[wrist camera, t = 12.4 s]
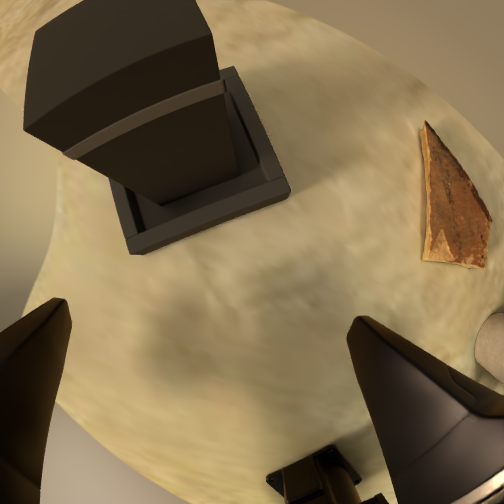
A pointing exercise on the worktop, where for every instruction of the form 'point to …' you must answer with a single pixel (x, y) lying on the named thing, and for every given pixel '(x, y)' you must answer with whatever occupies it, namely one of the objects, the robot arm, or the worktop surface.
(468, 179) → the shard
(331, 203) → the worktop surface
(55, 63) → the dark banded block
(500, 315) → the house plant
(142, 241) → the base pad
